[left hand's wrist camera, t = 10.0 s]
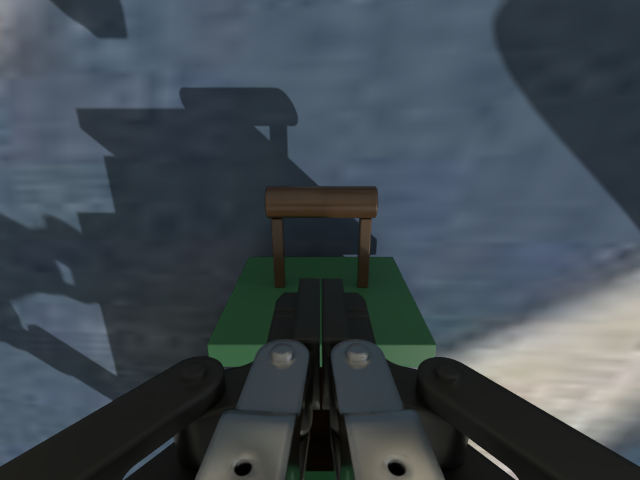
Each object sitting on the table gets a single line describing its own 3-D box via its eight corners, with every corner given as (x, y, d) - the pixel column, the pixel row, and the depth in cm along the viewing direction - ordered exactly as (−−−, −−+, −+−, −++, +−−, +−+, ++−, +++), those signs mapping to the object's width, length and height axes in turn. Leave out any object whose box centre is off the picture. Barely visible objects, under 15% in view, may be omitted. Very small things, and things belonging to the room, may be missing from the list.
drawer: (242, 172, 22) (189, 216, 13) (399, 172, 22) (454, 216, 13) (262, 432, 30) (237, 573, 21) (379, 432, 30) (405, 573, 21)
